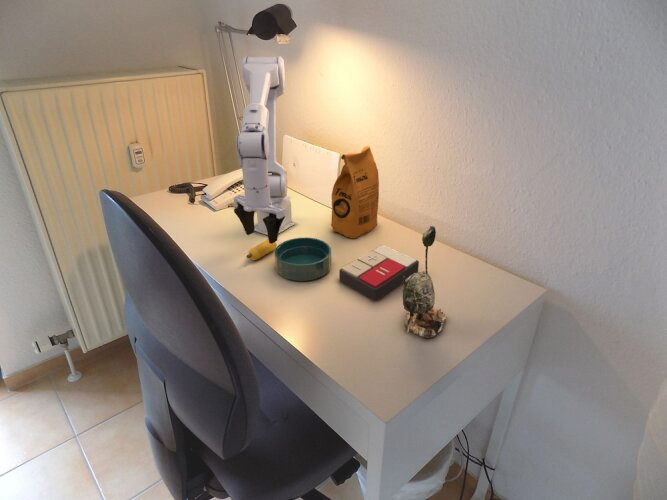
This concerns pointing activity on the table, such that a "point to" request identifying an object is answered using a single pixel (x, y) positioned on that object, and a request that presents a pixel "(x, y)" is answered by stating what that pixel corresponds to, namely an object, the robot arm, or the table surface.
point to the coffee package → (356, 195)
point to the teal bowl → (303, 259)
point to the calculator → (378, 271)
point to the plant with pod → (422, 298)
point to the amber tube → (261, 250)
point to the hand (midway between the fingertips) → (261, 237)
